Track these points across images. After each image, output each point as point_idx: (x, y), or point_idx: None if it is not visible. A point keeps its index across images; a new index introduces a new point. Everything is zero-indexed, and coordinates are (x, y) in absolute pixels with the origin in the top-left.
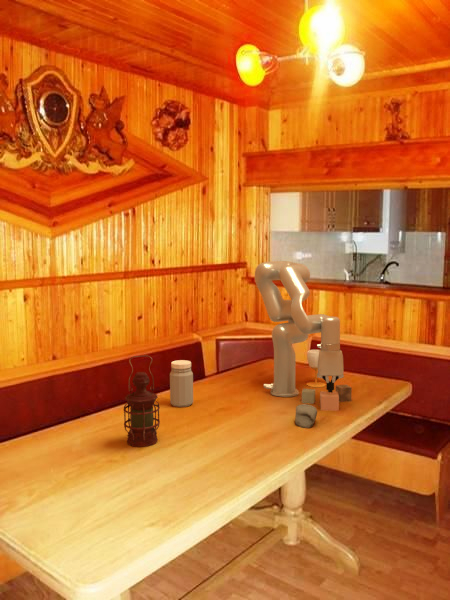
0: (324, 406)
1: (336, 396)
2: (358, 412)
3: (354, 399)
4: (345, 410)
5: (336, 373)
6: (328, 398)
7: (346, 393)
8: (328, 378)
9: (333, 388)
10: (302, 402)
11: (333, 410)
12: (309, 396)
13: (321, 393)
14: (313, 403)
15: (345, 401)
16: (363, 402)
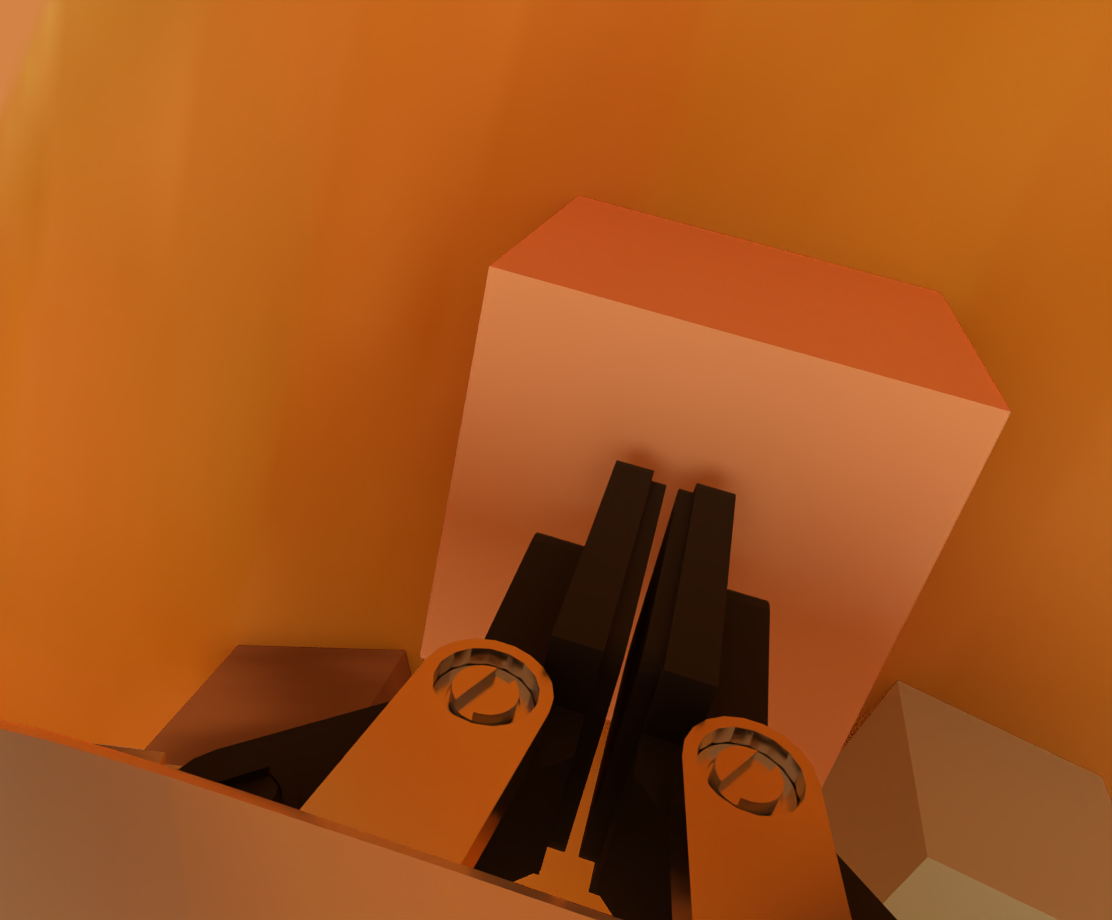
0: (875, 297)
1: (558, 284)
2: (223, 16)
3: (184, 695)
4: (441, 192)
5: (92, 910)
6: (789, 326)
7: (243, 737)
8: (698, 880)
9: (549, 552)
10: (1092, 779)
11: (681, 226)
12: (999, 819)
13: (872, 636)
14: (901, 687)
15: (325, 648)
16: (78, 545)
